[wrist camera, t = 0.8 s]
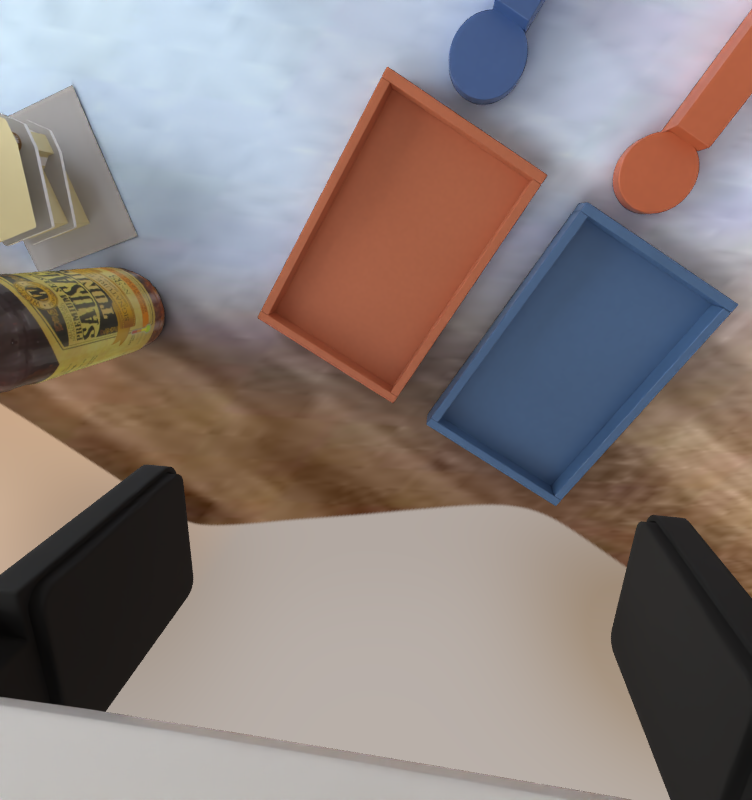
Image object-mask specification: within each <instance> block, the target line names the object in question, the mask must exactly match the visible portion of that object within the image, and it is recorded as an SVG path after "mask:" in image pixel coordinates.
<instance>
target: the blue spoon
mask: <svg viewBox="0 0 752 800" xmlns="http://www.w3.org/2000/svg"><path fill="white" fill-rule="evenodd" d="M544 2H545V0H495V2H494V7H493V10H485V11H481V12H479V13H477V14H475V15H473V16H471V17H470V18H469V19H467V20H466V21H465V22H464V23H463V24H462V26H461V27H460V28H459V29H458V31H457V33H456V34H455V36H454V39H453V41H452V44H451V48H450V53H449V72H450V77H451V80H452V83H453V85H454V87H455V89H456V90H457V92H458V93H459V94H460V95H461V96H462V97H463V98H465V99H466V100H468V101H470V102H472V103H476V104H490V103H494V102H497V101H499V100H501V99H502V98H504V97H505V96H507V95H508V94H509V93H510V92H511V91H512V90H513V89H514V87H515V86H516V84H517V83H518V81H519V79H520V77H521V75H522V73H523V71H524V68H525V65H526V61H527V55H528V45H527V39H526V35H525V33H526V32H527V30H528V28H529V27H530V25H531V23H532V22H533V20H534V18H535V17H536V15H537V13H538V12H539V10H540V8H541V7H542V5H543V3H544Z"/></svg>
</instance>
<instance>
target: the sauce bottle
mask: <svg viewBox="0 0 752 800" xmlns="http://www.w3.org/2000/svg"><path fill="white" fill-rule="evenodd" d="M164 316H165V313H164V307H163V304H162V301H161V299H160V296H159V294H158V293H157V290H156V288H155V287H153V286H152V284H151V282H150V281H149V280H147V279H145V278H144V277H142V276H141V275H138V274H136V273H134V272H133V271H128V270H126V269H123V268H113V267H101V268H86V269H72V270H59V271H43V272H32V273H18V274H0V393H1V392H7V391H10V390H12V389H14V388H17V387H21V386H23V385H32V384H37V383H40V382H43V381H46V380H49V379H52V378H55V377H59V376H62V375H64V374H67V373H70V372H73V371H76V370H80V369H83V368H86V367H89V366H92V365H95V364H98V363H101V362H104V361H108V360H111V359H114V358H117V357H120V356H123V355H126V354H129V353H132V352H135V351H137V350H139V349H141V348H142V347H144V346H146V345H148V344H150V343H151V342H153V341H154V340H155V339H156V338H157V337H158V336H159V334H160V333H161V331H162V328H163V326H164V319H165V317H164Z"/></svg>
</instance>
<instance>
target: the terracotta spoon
mask: <svg viewBox="0 0 752 800" xmlns="http://www.w3.org/2000/svg"><path fill="white" fill-rule="evenodd" d="M751 94H752V9H751V11H750V12H749V14H748V15H747V16H746V18H745V19H744V20H743V22H742V23H741V24H740V26H739V27H738V28H737V30H736V31H735V32H734V34H733V35H732V37H731V38H730V39H729V41H728V42H727V43H726V45H725V46H724V47H723V49H722V50H721V51H720V53H719V54H718V56H717V57H716V58H715V60H714V61H713V62H712V64H711V65H710V66H709V68H708V69H707V70H706V72H705V73H704V74H703V76H702V77H701V79H700V80H699V81H698V83H697V84H696V85H695V87H694V88H693V89H692V91H691V92H690V93H689V95H688V96H687V97H686V99H685V100H684V102H683V103H682V104H681V106H680V107H679V108H678V110H677V111H676V112H675V114H674V115H673V116H672V118H671V119H670V120H669V122H668V123H667V125H666V126H665V127H664V129H663V130H662V131H661V132H657V133H653V134H650V135H648V136H646V137H644V138H642V139H640V140H638V141H636V142H635V143H633V144H632V145H631V146H629V147H628V148H627V149H626V150H625V152H624V153H623V154H622V155H621V157H620V159H619V160H618V162H617V164H616V167H615V170H614V174H613V188H614V192H615V195H616V197H617V199H618V201H619V202H620V203H621V204H622V205H623V206H624V207H625V208H626V209H628V210H630V211H632V212H635V213H639V214H653V213H660V212H664V211H667V210H669V209H671V208H673V207H675V206H676V205H678V204H679V203H680V202H682V201H683V200H684V199H685V198H686V197H687V195H688V194H689V193H690V191H691V190H692V188H693V187H694V185H695V182H696V180H697V177H698V172H699V157H698V153H697V151H700V150H703V149H706V148H709V147H710V146H711V145H712V144H713V143H714V141H715V140H716V139H717V137H718V136H719V135H720V134H721V132H722V131H723V130H724V128H725V127H726V126H727V125H728V123H729V122H730V121H731V120H732V118H733V117H734V116H735V114H736V113H737V112H738V111H739V109H740V108H741V107H742V105H743V104H744V103H745V102H746V100H747V99H748V98H749V97H750V95H751Z"/></svg>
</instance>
